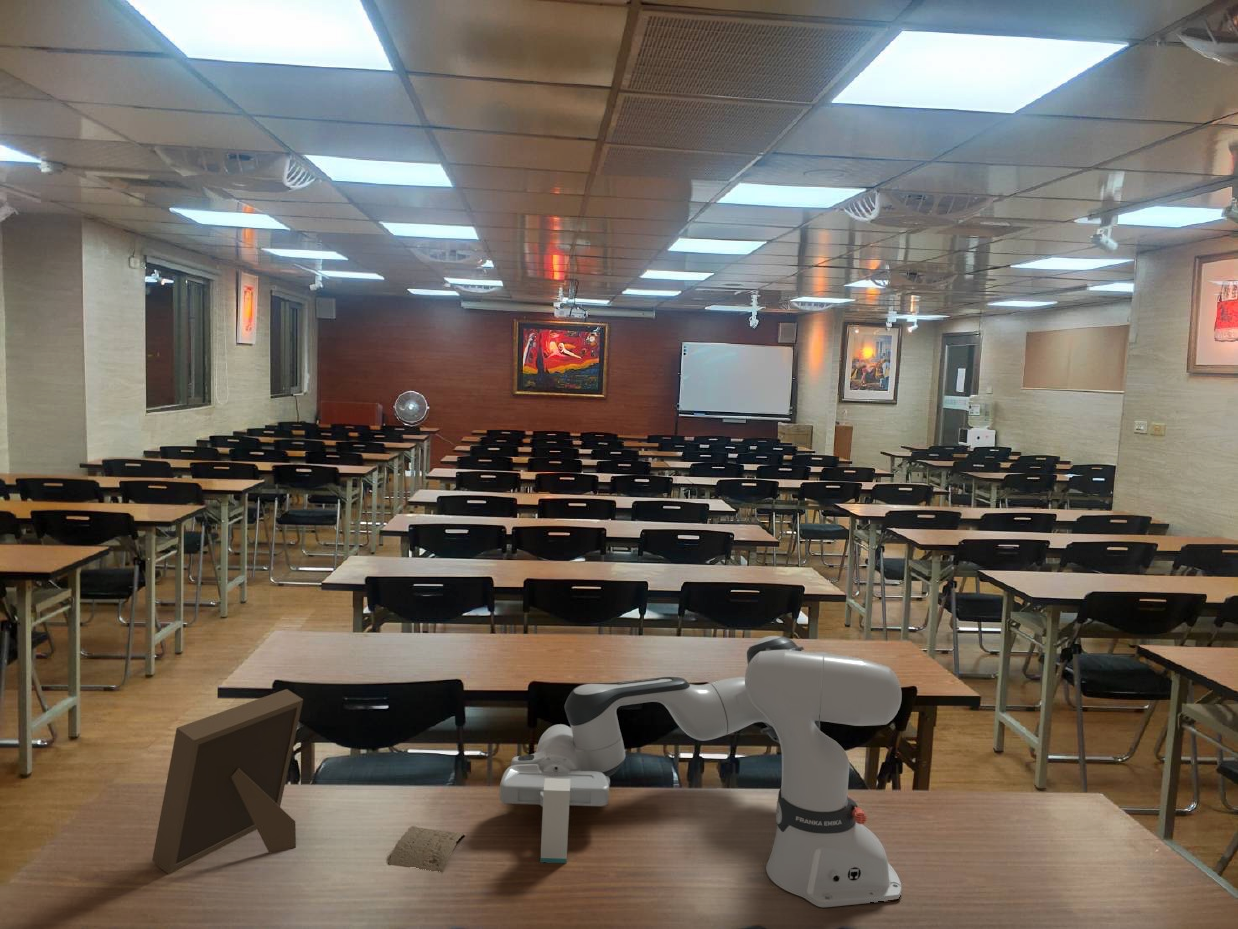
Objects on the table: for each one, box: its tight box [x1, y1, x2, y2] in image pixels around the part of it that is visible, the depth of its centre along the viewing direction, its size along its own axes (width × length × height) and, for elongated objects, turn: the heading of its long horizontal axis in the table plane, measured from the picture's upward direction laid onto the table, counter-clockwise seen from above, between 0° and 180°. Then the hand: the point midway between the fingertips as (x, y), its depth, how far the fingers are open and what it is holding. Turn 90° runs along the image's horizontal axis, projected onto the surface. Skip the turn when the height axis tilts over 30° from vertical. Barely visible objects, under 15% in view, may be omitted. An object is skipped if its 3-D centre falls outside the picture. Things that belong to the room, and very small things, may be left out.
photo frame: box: [151, 688, 304, 875], centre depth 147 cm, size 15×22×25 cm
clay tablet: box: [388, 825, 464, 873], centre depth 151 cm, size 15×10×3 cm
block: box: [539, 778, 570, 864], centre depth 151 cm, size 4×4×13 cm
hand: (553, 809), depth 153 cm, fingers closed
